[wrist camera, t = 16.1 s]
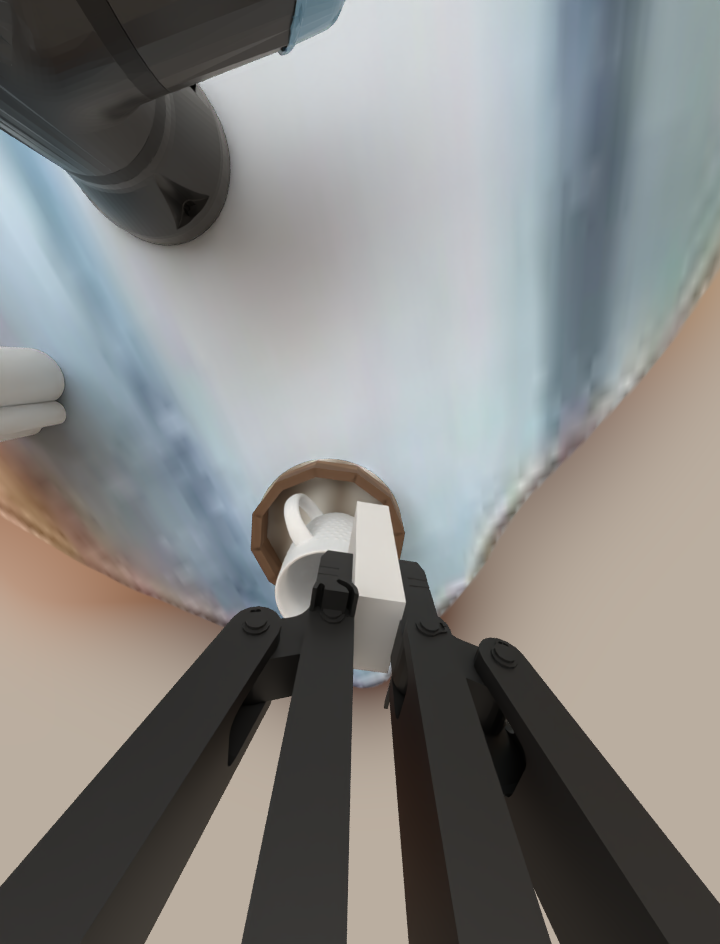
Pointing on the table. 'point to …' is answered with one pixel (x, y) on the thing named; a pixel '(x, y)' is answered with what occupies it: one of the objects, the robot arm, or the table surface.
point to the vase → (28, 392)
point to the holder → (329, 490)
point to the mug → (307, 551)
